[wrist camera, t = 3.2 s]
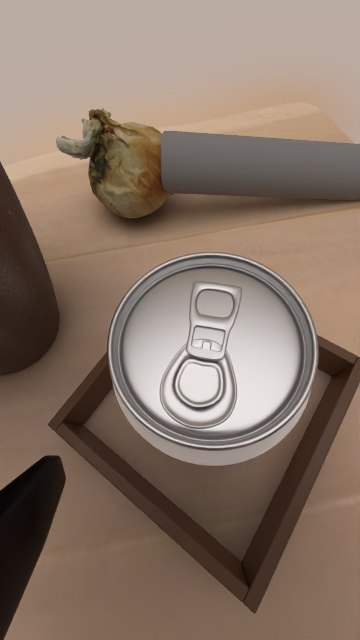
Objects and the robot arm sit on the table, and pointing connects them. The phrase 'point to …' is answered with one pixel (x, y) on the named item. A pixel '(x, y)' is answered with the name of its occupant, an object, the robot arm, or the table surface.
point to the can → (212, 358)
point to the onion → (120, 163)
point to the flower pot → (22, 288)
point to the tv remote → (259, 166)
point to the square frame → (226, 568)
